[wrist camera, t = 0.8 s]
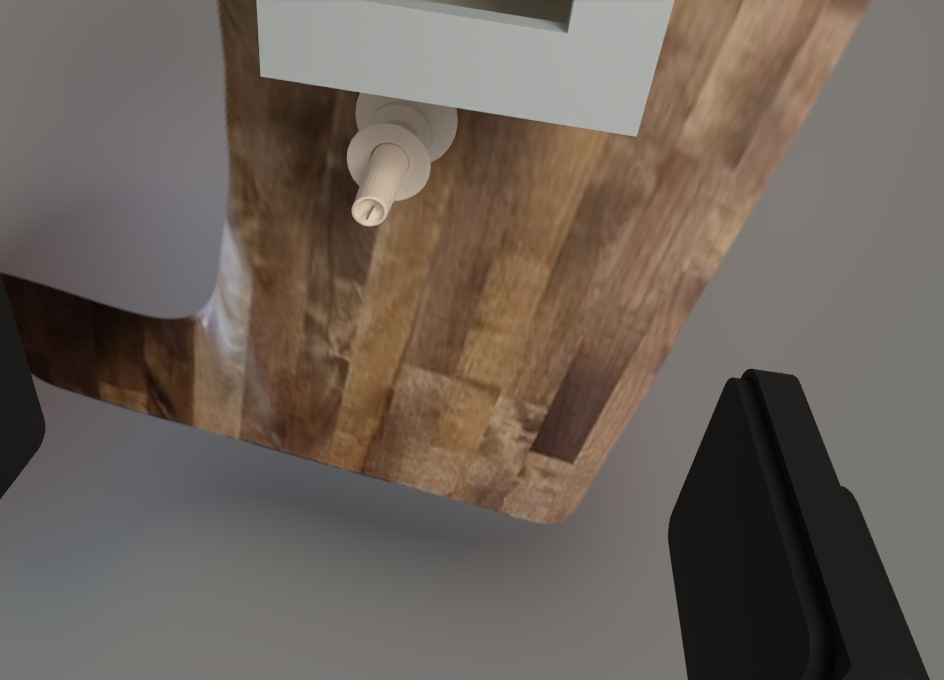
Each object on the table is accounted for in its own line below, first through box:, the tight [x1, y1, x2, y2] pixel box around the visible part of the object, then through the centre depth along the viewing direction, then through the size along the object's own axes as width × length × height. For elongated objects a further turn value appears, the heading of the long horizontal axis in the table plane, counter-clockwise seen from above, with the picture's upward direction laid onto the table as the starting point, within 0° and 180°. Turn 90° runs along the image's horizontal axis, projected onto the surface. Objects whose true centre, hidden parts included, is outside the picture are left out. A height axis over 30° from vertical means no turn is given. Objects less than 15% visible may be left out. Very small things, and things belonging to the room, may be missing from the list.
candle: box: [347, 92, 458, 226], centre depth 35 cm, size 5×5×10 cm
